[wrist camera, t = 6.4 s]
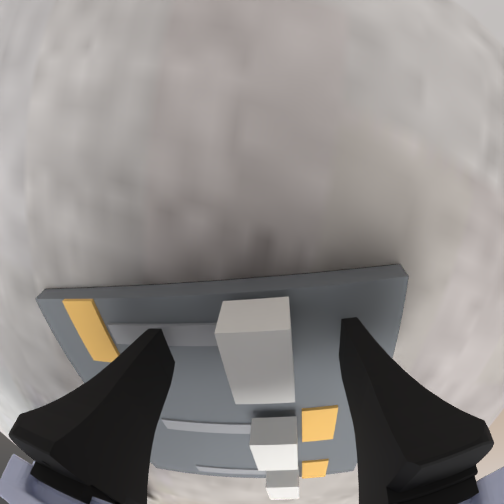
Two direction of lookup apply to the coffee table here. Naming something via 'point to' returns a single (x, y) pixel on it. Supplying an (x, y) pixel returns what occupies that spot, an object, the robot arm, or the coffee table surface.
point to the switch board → (212, 369)
